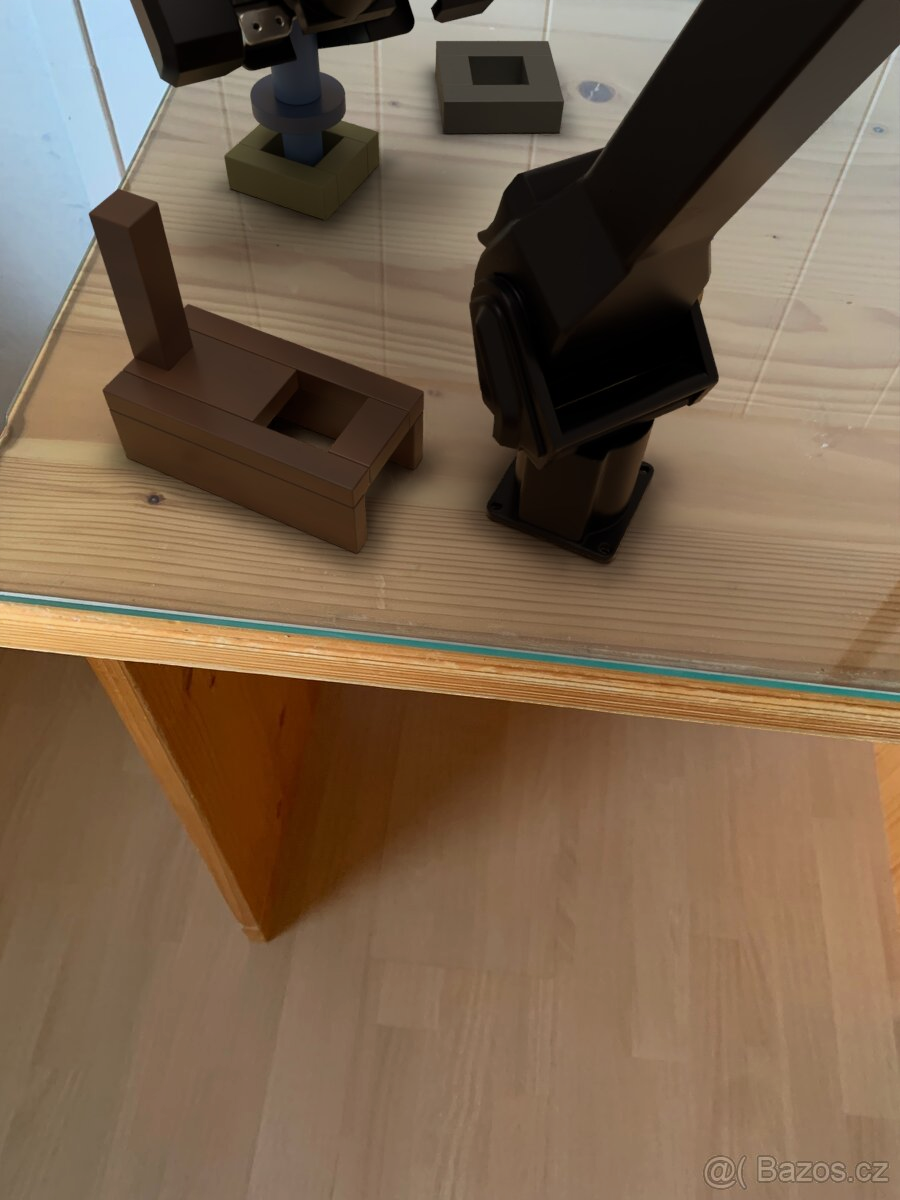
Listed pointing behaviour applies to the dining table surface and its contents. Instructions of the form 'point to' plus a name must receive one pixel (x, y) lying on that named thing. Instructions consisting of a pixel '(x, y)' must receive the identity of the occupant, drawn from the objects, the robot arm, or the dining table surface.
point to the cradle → (304, 168)
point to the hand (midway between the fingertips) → (284, 45)
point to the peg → (299, 101)
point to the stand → (243, 395)
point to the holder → (498, 87)
